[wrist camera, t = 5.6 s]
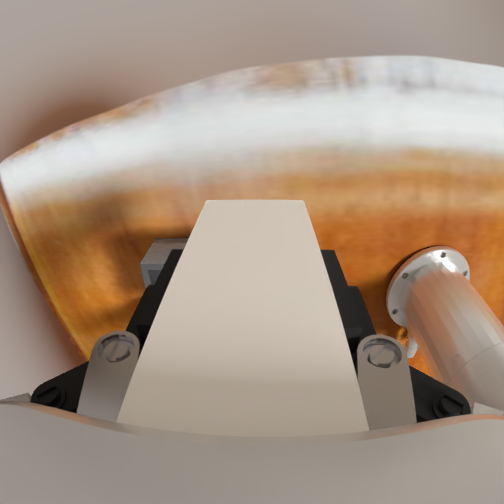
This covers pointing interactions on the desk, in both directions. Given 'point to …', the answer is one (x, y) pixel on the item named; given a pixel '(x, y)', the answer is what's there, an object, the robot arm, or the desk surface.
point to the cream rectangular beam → (247, 333)
